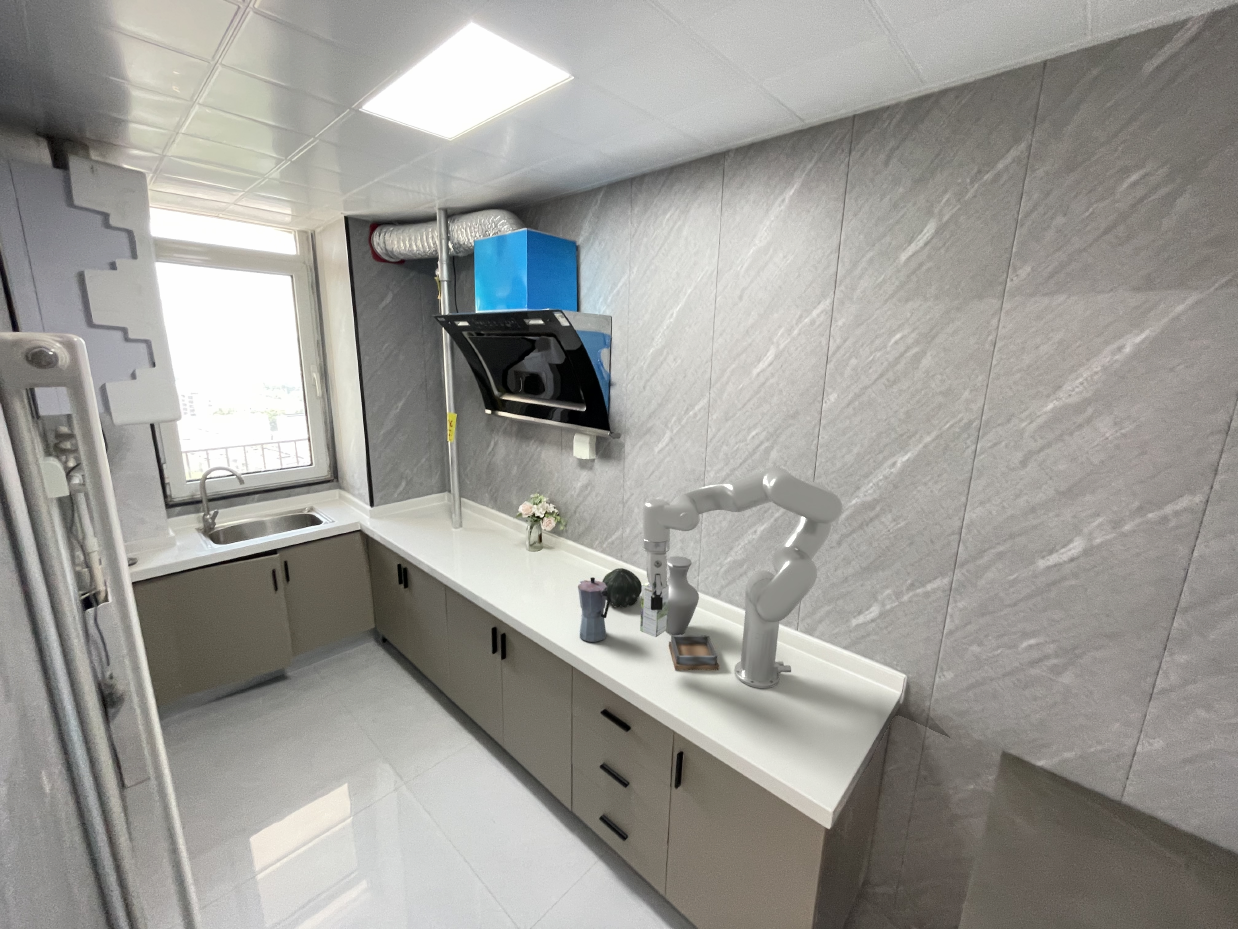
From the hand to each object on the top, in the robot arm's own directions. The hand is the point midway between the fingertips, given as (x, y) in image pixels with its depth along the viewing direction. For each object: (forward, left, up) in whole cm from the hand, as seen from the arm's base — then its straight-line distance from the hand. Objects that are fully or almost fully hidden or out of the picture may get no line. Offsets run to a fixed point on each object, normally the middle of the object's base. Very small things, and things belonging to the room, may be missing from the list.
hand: (654, 602), depth 146 cm
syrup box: (0, 0, -9) cm, 9 cm away
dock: (-13, -6, -21) cm, 26 cm away
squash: (+7, -42, -22) cm, 48 cm away
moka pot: (+17, -18, -22) cm, 33 cm away
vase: (-10, -22, -22) cm, 33 cm away
